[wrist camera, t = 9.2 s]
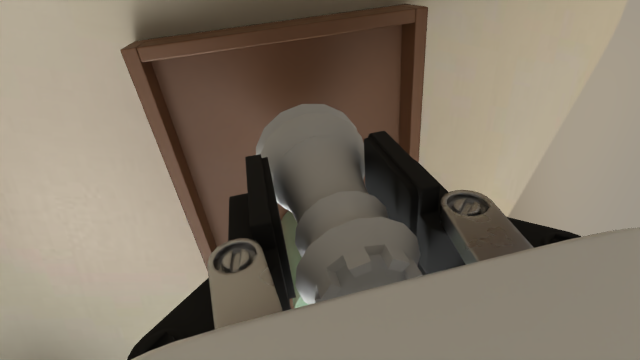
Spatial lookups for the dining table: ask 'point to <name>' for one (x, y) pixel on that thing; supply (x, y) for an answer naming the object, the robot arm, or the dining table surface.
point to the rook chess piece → (333, 206)
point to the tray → (272, 95)
